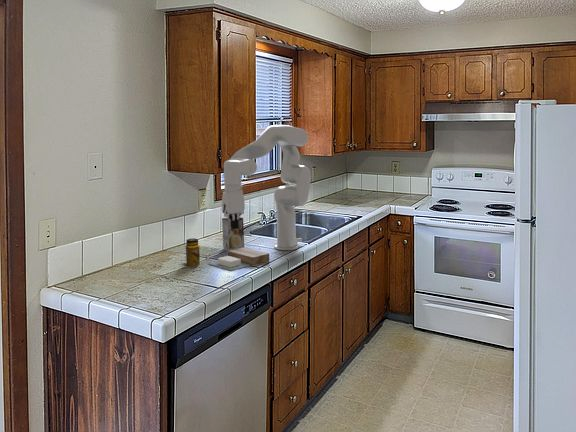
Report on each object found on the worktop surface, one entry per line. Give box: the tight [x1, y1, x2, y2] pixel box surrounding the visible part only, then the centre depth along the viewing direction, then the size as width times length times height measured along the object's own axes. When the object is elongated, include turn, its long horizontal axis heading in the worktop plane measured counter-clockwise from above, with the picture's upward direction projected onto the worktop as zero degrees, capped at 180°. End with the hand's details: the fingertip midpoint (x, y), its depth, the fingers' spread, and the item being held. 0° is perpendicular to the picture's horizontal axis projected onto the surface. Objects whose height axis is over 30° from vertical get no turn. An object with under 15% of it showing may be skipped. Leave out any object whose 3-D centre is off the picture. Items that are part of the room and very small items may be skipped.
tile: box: [217, 255, 241, 267], centre depth 247 cm, size 6×9×2 cm, turn 45°
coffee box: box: [221, 216, 245, 252], centre depth 277 cm, size 9×6×16 cm
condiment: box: [181, 237, 202, 269], centre depth 248 cm, size 7×8×12 cm
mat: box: [208, 260, 252, 272], centre depth 248 cm, size 12×16×1 cm
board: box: [227, 246, 270, 267], centre depth 255 cm, size 10×18×4 cm, turn 45°
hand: (234, 228), depth 247 cm, fingers closed
